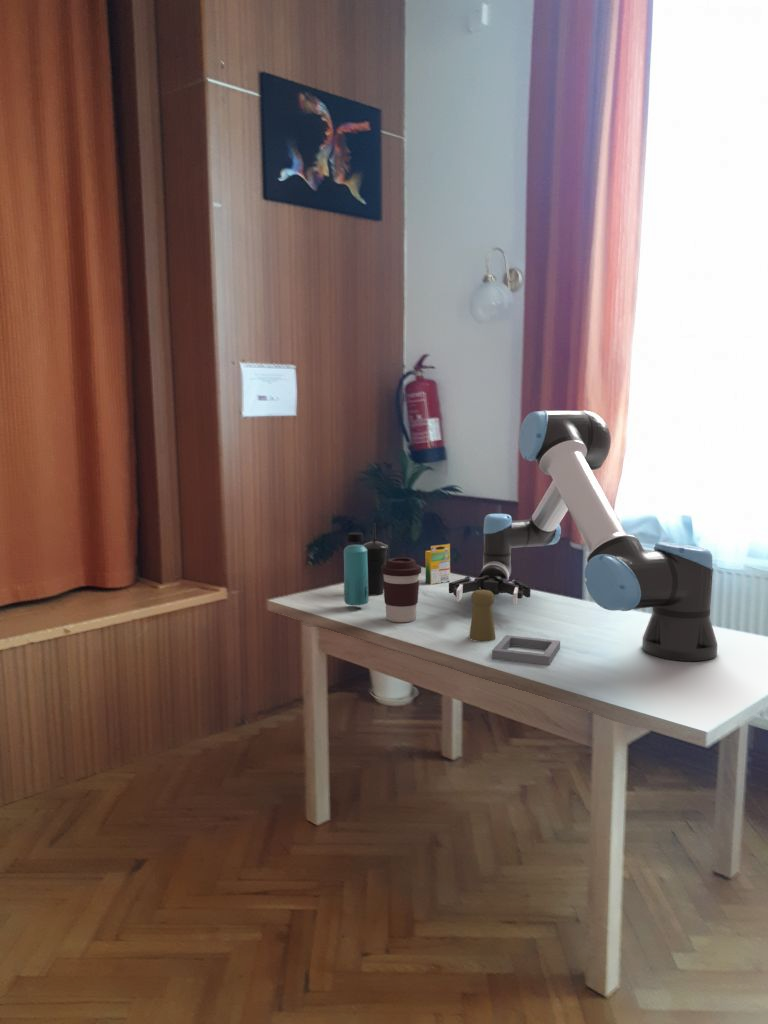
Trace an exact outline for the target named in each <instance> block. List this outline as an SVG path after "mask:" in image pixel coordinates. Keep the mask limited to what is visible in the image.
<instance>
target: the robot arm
mask: <svg viewBox="0 0 768 1024" xmlns="http://www.w3.org/2000/svg"><path fill="white" fill-rule="evenodd" d="M611 439H612V438H611V431H610V429H609V427H608V425H607V422H605V420H604V418H602V417H601V416H599V415H598V414H596V413H595V412H592V411H588V410H546V409H545V410H544V409H543V410H539V411H538V410H537V411H532V412H530V413H528V414H527V415H526V416H525V418H524V419H523V421H522V423H521V425H520V430H519V437H518V446H519V447H518V448H519V452H520V455H521V457H522V458H523V459H524V460H526V461H529V462H533V461H535V462H536V463H537V466H538V467H539V469H540V471H541V472H542V473H543V474H545V475H547V476H551V479H552V481H551V483H550V485H549V487H547V490H546V491H545V493H544V495H543V497H542V498H541V500H540V501H539V504H538V505H537V507H536V509H535V511H534V512H533V513H532V515H531V516H530V518H529V519H517V520H516V519H515V520H514V519H512V516H511V515H510V514H507V513H490V514H489V513H488V514H487V515H485V517H484V521H483V531H482V533H483V555H482V557H483V558H482V569H481V571H480V573H479V575H478V577H476V578H474V579H472V577H470V576H469V575H468V576H465V577H464V578H461V579H458V580H455V581H450V582H448V594H453V596H455V598H456V599H455V601H456V602H460V601H461V599H462V597H463V594H466V593H471V592H472V593H473V592H474V591H476V590H489V591H491V592H492V593H493V594H494V596H497V595H500V594H507V595H508V594H509V595H512V596H513V601H512V602H513V605H517V604H518V603H517V602H518V599H520V600H522V599H523V598H524V597H525V598H531V588H532V587H531V586H529V585H527V584H525V583H524V582H522V581H520V580H519V578H513V579H512V580H511V581H509V580H510V579H509V578H510V576H511V574H512V564H511V562H512V561H511V556H512V549H513V548H515V549H516V548H525V547H526V548H527V547H546V546H551V545H555V544H557V543H558V542H559V540H560V539H561V534H562V528H561V524H560V523H561V522H562V520H563V518H564V517H565V515H566V514H567V512H569V514H570V516H571V518H572V519H573V520H572V521H573V522H574V524H575V526H576V527H577V530H578V532H579V534H580V535H581V537H582V539H583V542H584V543H585V546H586V547H587V549H588V551H589V554H588V555H587V558H586V565H585V569H584V578H585V579H586V581H584V582H585V587H586V590H587V592H588V594H589V595H590V597H591V599H592V600H593V601H594V602H595V603H596V605H598V606H599V607H601V608H602V609H603V610H604V609H605V610H608V611H613V612H614V611H621V612H628V611H631V610H638V609H649V608H652V610H651V615H650V618H649V621H648V624H647V625H646V629H645V631H644V633H643V636H642V644H641V645H642V646H641V647H642V650H643V651H644V652H646V653H648V654H650V655H652V656H655V657H658V658H662V659H668V660H671V661H672V660H673V661H683V662H701V661H709V660H712V659H714V658H716V657H717V655H718V642H717V637H716V634H715V631H714V628H713V624H712V621H711V606H712V586H713V573H714V567H713V555H712V553H711V551H710V550H708V549H707V548H704V547H701V546H694V545H690V544H684V543H676V542H668V541H666V542H665V541H658V542H656V543H655V544H654V546H653V550H651V551H650V550H648V551H647V550H645V549H644V548H643V545H642V544H641V542H640V539H638V538H637V537H636V536H635V535H632V534H627V532H626V530H625V529H624V526H623V525H622V523H621V522H620V519H619V518H618V515H617V514H616V512H615V510H614V509H613V507H612V505H611V504H610V503H611V502H610V501H609V500H608V497H607V496H606V494H605V493H604V491H603V489H602V487H601V485H600V483H599V482H598V480H597V478H596V476H595V474H594V471H597V470H599V469H600V468H601V467H602V466H603V465H604V463H605V461H606V460H607V458H608V456H609V453H610V449H611V443H612V441H611Z"/></svg>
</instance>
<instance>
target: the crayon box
mask: <svg viewBox="0 0 768 1024" xmlns="http://www.w3.org/2000/svg"><path fill="white" fill-rule="evenodd" d="M437 548H438V549H437ZM439 548H440V549H439ZM441 548H442V549H441ZM424 552H425V553H424V554H425V556H424V558H425V583H426V584H427V583H428V585H430V584H432V585H436V583H437V584H442V583H441V582H443V583H448V582H447V581H450V582H451V543H446V544H437V545H431V546H430V550H425V551H424Z"/></svg>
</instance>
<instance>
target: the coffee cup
mask: <svg viewBox="0 0 768 1024" xmlns="http://www.w3.org/2000/svg"><path fill="white" fill-rule="evenodd" d="M381 573H382V574H384V580H383V587H384V590H383V597H384V598H383V599H384V604H385V614H386V620H388V621H390V622H391V623H409V622H414V621H415V619H416V618H417V607H418V606H417V604H418V602H419V591H420V590H419V587H420V579H419V575H420V574H421V573H422V566H421V565H420V564H417V562H416V560H415V559H413V558H410V557H391V558H389V559H386V564H384V565H382V566H381Z"/></svg>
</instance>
